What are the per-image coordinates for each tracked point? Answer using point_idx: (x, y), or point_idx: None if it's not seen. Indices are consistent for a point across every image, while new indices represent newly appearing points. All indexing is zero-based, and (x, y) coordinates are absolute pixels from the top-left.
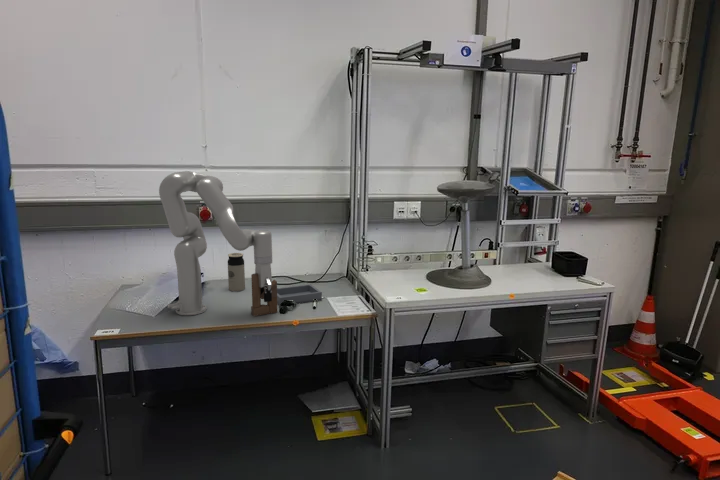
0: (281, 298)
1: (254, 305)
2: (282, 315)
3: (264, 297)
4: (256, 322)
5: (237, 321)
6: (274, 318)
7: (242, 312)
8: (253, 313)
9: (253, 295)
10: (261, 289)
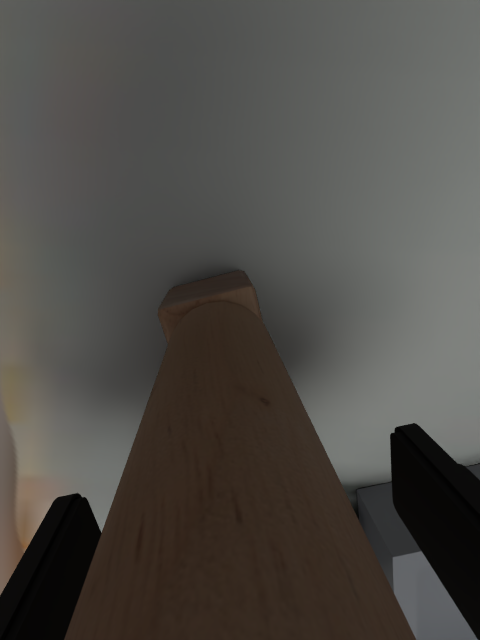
0: (389, 560)
1: (174, 332)
2: None
3: (18, 570)
4: (10, 301)
5: (52, 109)
6: (98, 443)
7: (314, 186)
8: (169, 292)
9: (155, 399)
10: (451, 550)
